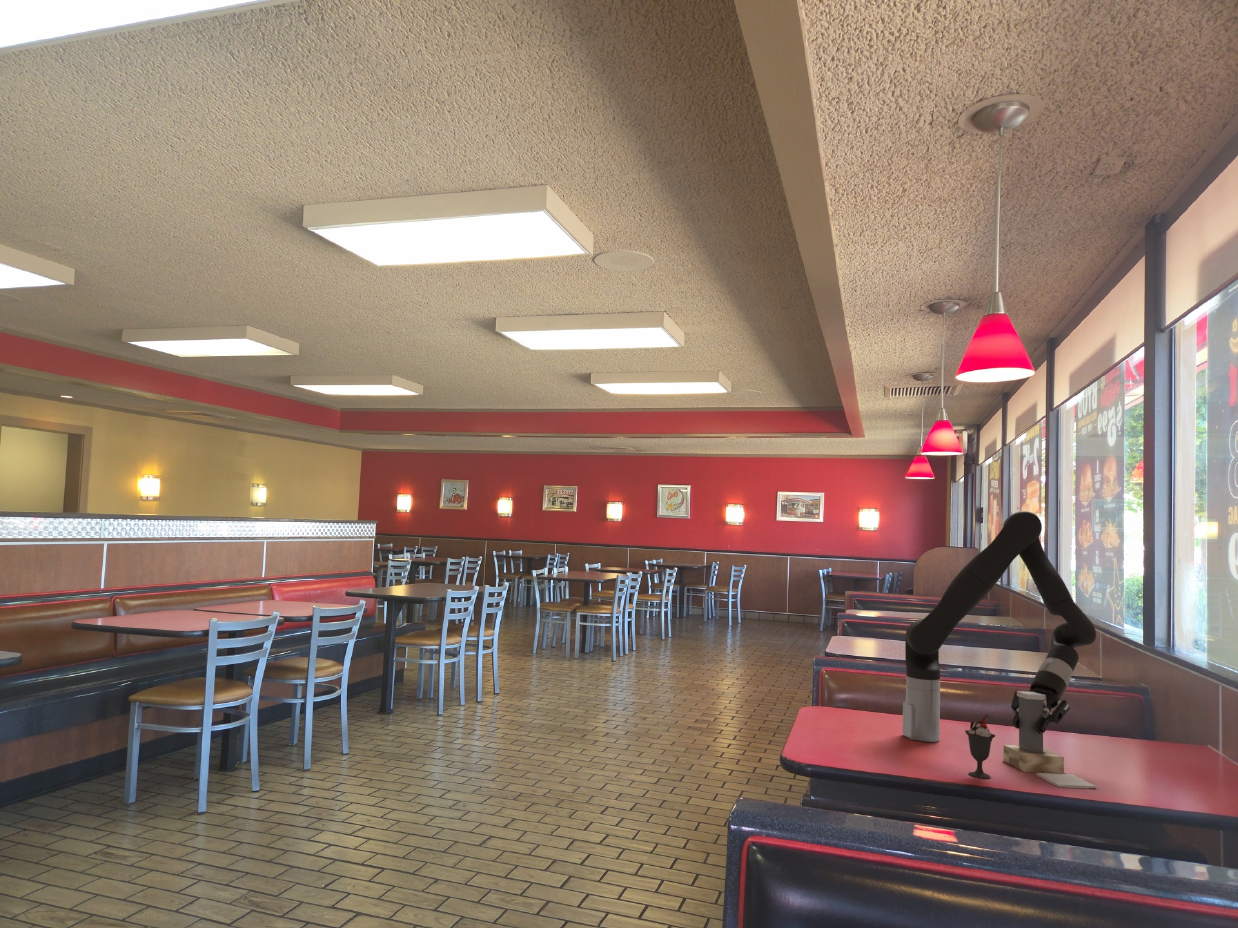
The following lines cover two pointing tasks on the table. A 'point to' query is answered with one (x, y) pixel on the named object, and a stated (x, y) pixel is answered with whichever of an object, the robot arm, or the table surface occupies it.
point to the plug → (1030, 721)
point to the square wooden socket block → (1034, 760)
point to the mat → (1065, 780)
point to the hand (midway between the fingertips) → (1027, 728)
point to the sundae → (979, 745)
